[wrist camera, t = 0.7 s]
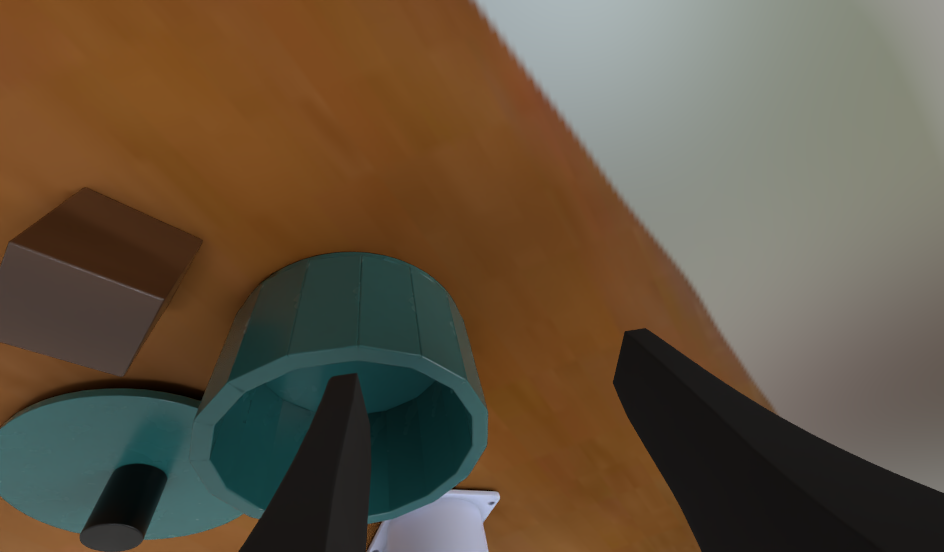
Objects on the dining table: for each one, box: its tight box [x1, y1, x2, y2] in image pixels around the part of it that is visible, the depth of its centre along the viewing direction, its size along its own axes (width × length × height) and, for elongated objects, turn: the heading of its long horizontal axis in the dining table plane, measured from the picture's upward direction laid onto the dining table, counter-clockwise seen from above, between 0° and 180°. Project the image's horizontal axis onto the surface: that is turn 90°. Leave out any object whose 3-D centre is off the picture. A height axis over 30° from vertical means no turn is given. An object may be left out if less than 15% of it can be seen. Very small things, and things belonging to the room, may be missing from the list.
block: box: [0, 188, 202, 377], centre depth 16 cm, size 4×4×4 cm
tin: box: [189, 252, 488, 524], centre depth 20 cm, size 11×11×6 cm
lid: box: [0, 388, 244, 552], centre depth 23 cm, size 13×13×4 cm
